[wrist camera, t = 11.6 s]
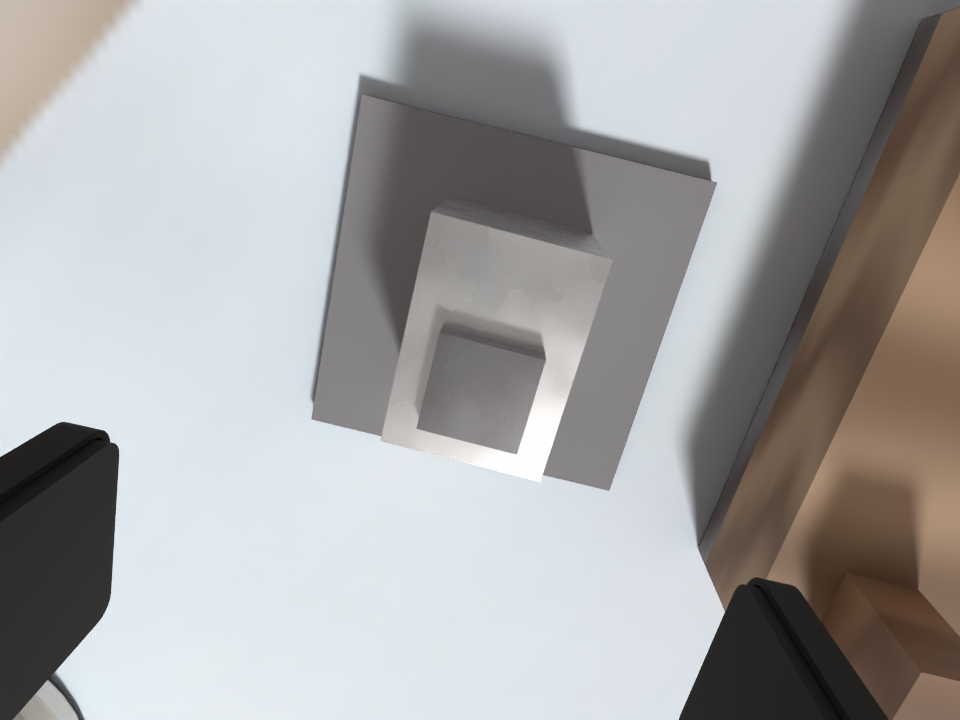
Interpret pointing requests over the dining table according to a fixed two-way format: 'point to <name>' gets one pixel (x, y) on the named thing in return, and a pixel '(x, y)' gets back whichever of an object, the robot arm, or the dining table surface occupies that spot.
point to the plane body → (871, 413)
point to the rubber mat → (525, 191)
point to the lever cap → (494, 337)
